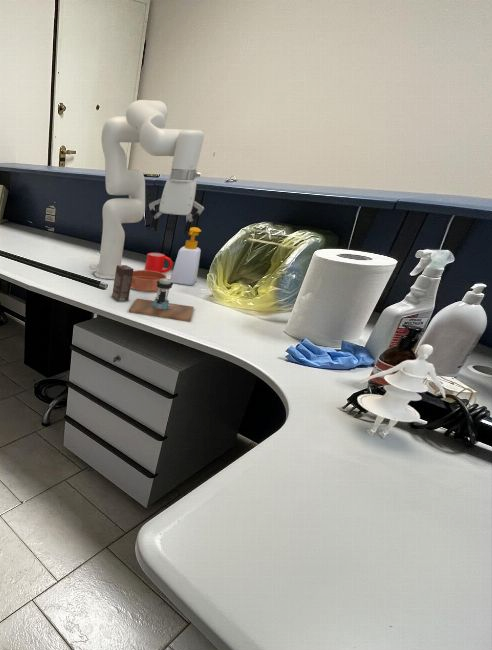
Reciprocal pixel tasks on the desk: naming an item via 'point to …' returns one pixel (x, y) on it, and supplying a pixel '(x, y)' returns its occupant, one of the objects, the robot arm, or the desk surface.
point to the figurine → (401, 391)
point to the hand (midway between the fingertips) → (170, 232)
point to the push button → (163, 294)
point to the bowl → (146, 280)
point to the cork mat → (162, 310)
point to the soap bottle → (187, 261)
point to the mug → (157, 262)
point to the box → (122, 282)
